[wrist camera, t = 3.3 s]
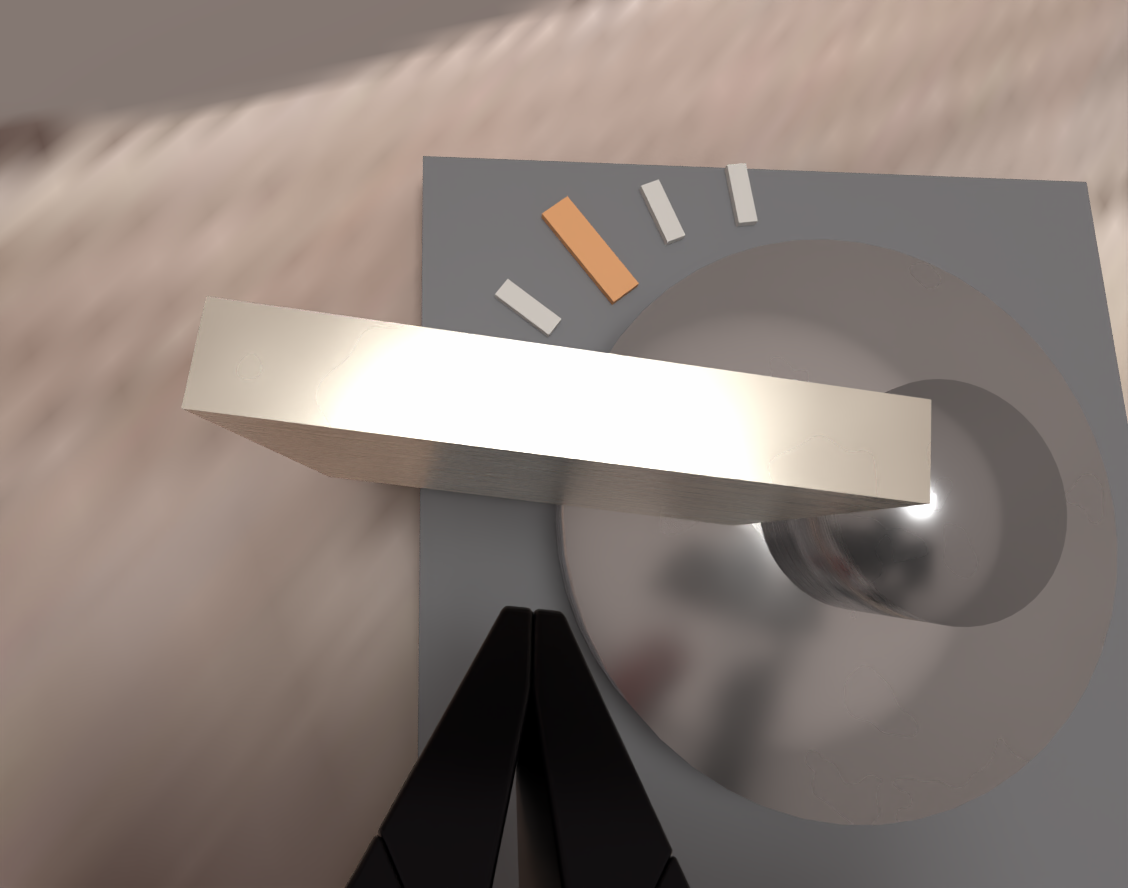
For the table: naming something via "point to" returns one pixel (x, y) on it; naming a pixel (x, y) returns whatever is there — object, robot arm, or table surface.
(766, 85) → the table surface
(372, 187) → the table surface
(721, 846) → the panel
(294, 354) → the dial
